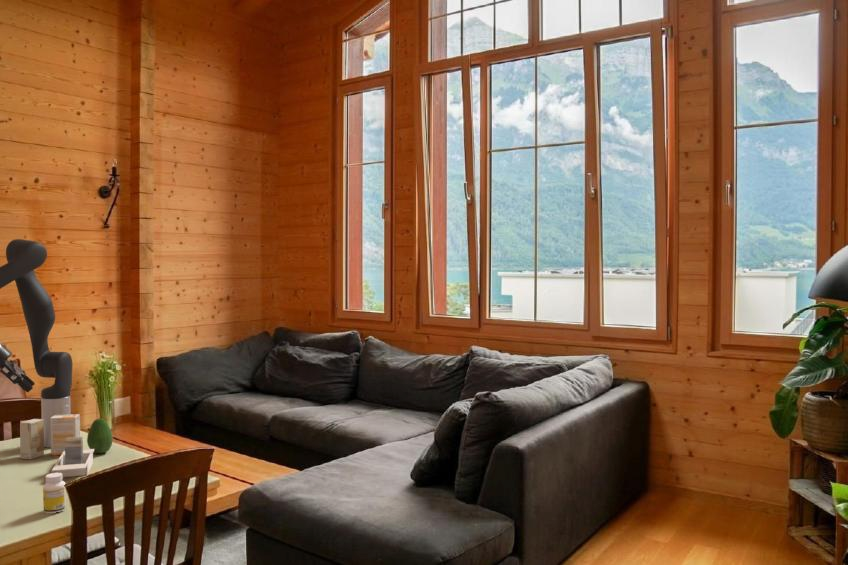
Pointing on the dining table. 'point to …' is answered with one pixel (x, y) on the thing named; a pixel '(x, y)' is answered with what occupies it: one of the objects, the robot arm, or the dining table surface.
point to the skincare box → (31, 438)
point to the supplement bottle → (54, 493)
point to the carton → (74, 465)
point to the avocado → (100, 436)
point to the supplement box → (63, 431)
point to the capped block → (74, 450)
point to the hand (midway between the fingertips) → (31, 388)
